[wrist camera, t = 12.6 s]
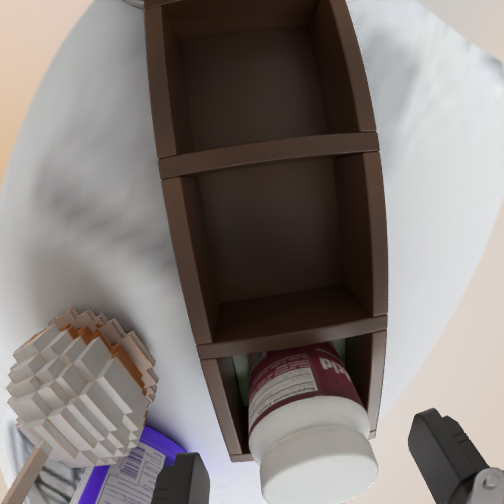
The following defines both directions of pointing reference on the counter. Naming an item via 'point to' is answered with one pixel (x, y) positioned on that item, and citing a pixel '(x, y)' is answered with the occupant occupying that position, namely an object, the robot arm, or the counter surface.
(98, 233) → the counter surface
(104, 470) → the bottle
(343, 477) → the pill bottle
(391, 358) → the counter surface
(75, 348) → the decorative ornament
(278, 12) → the organiser
